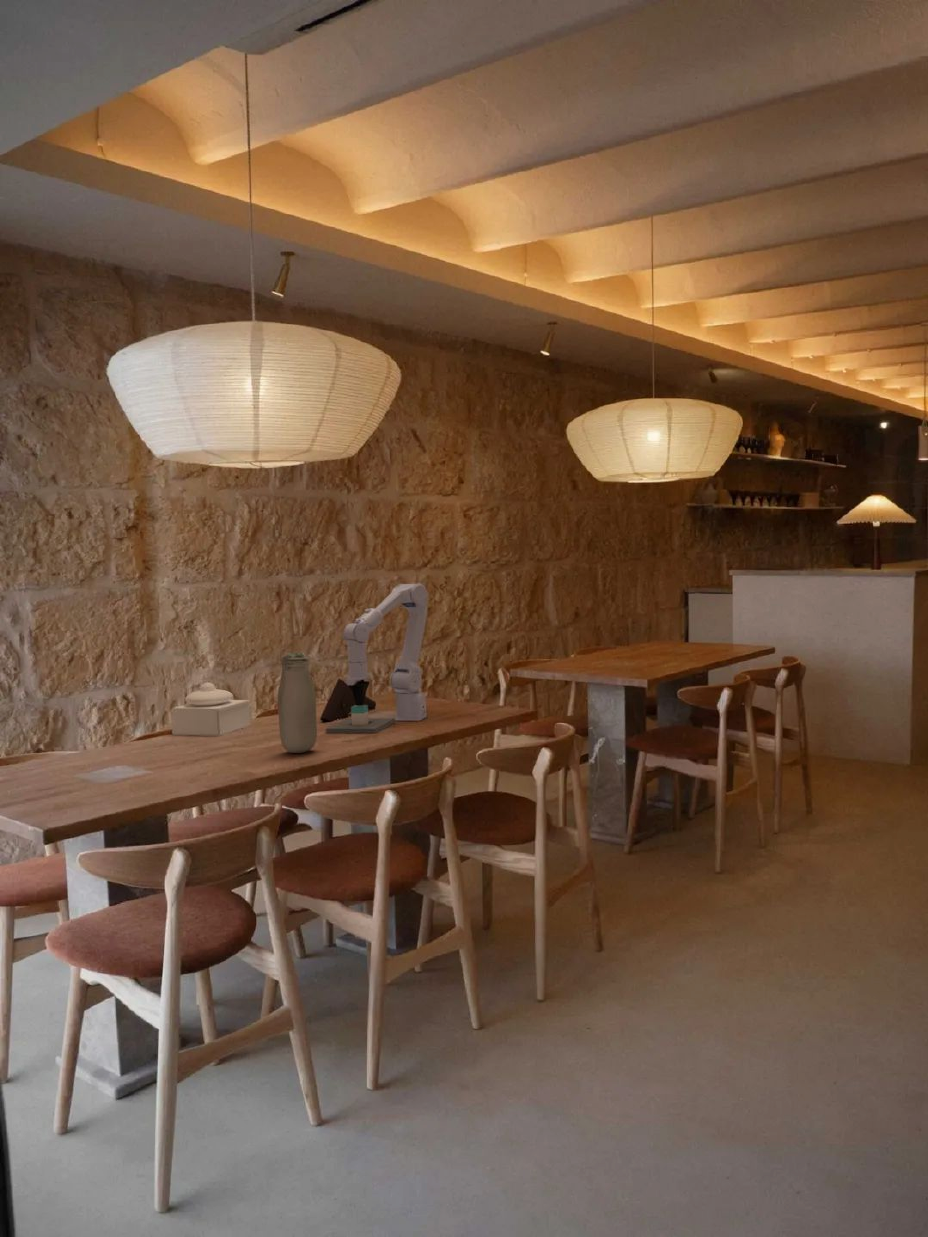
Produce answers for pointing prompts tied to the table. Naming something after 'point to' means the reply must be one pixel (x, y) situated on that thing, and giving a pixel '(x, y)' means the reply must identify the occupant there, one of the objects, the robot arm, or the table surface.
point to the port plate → (361, 726)
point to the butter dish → (210, 713)
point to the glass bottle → (297, 704)
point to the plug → (359, 715)
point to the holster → (342, 702)
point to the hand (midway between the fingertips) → (360, 705)
